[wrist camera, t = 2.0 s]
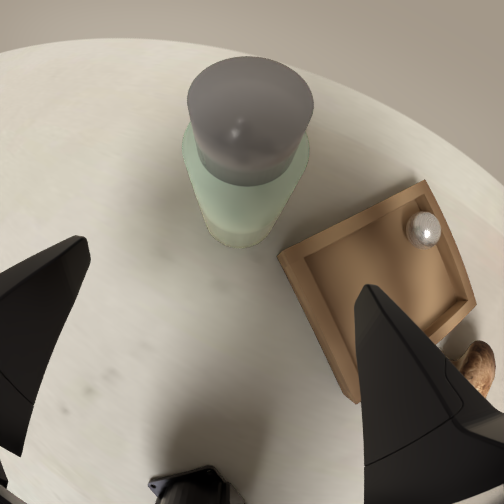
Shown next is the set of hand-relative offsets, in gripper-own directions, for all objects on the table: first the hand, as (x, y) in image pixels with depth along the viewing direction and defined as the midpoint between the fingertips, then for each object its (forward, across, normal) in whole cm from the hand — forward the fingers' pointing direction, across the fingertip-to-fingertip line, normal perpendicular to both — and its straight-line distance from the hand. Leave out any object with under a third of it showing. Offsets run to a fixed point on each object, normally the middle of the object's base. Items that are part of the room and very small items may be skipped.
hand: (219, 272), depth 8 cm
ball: (+12, -14, +3) cm, 19 cm away
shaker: (+12, 0, +4) cm, 13 cm away
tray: (+10, -12, +7) cm, 17 cm away
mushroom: (+4, -22, +13) cm, 25 cm away
